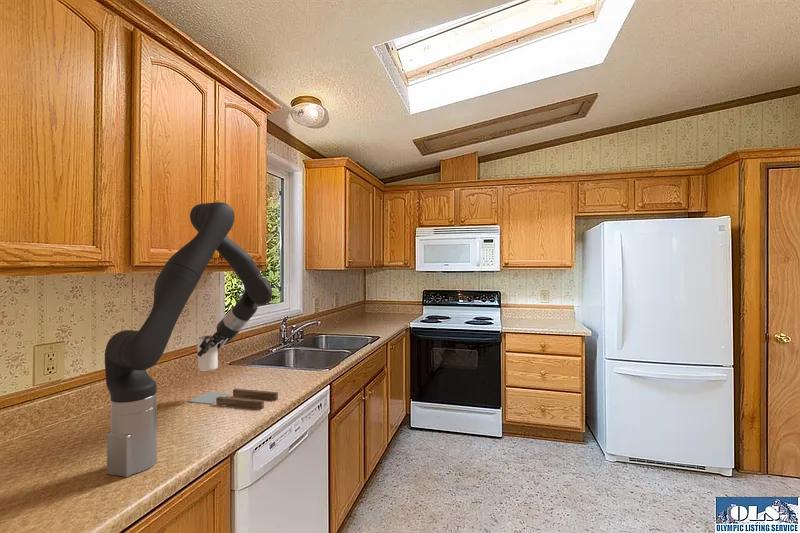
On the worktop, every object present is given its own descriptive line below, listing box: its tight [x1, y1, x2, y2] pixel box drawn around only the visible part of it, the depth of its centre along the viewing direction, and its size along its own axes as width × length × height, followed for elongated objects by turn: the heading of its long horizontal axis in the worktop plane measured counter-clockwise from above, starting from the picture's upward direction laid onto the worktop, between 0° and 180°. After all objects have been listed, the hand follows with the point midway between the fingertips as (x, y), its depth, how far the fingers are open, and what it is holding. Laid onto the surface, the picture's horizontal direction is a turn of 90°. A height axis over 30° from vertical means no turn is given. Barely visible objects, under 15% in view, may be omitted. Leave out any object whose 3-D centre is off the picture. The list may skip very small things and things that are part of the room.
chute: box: [215, 388, 279, 410], centre depth 135 cm, size 10×18×2 cm, turn 76°
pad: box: [187, 391, 232, 405], centre depth 139 cm, size 10×10×1 cm
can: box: [197, 334, 219, 373], centre depth 139 cm, size 6×6×12 cm
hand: (205, 353), depth 139 cm, fingers closed on can, 5 cm apart
